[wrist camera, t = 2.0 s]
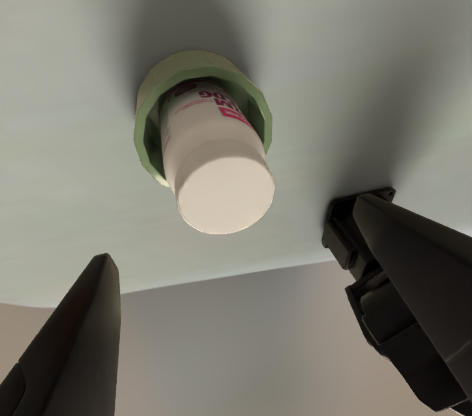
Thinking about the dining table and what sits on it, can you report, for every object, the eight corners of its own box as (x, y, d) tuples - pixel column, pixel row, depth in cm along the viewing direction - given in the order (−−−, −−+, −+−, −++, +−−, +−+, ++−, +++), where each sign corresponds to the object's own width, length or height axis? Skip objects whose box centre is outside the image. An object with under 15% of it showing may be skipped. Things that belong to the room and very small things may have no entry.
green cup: (252, 41, 15) (273, 56, 13) (254, 155, 20) (271, 182, 18) (117, 59, 14) (111, 79, 12) (154, 175, 19) (156, 206, 17)
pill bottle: (239, 77, 16) (298, 144, 10) (231, 150, 19) (273, 236, 13) (155, 74, 15) (163, 147, 9) (161, 152, 18) (170, 248, 12)
